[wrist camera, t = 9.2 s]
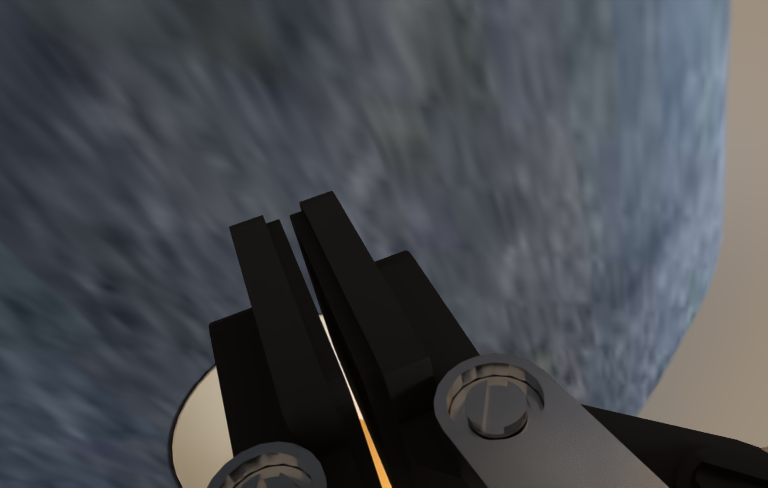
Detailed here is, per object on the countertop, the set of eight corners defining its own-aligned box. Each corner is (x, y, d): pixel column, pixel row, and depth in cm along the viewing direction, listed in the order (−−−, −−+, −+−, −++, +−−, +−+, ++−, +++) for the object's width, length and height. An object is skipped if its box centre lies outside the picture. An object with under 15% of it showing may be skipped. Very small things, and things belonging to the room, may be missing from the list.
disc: (119, 386, 27) (119, 389, 27) (432, 267, 29) (434, 270, 29) (230, 559, 35) (231, 562, 35) (468, 456, 38) (469, 458, 37)
